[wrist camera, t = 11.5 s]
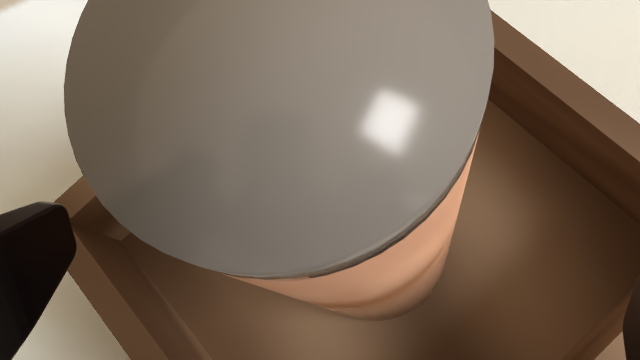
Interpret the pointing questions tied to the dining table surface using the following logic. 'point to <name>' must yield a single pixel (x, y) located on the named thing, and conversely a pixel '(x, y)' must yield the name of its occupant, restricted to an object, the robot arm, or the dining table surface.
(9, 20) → the dining table surface
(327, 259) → the canister
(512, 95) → the tray
